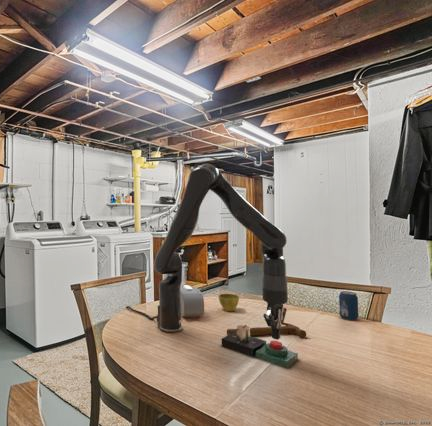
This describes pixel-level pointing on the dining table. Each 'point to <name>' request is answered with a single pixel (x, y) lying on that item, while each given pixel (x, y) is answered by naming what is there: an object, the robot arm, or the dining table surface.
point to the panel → (243, 344)
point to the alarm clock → (191, 301)
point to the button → (276, 345)
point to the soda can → (348, 305)
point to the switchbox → (277, 355)
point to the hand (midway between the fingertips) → (276, 338)
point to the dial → (243, 333)
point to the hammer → (268, 330)
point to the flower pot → (228, 301)
